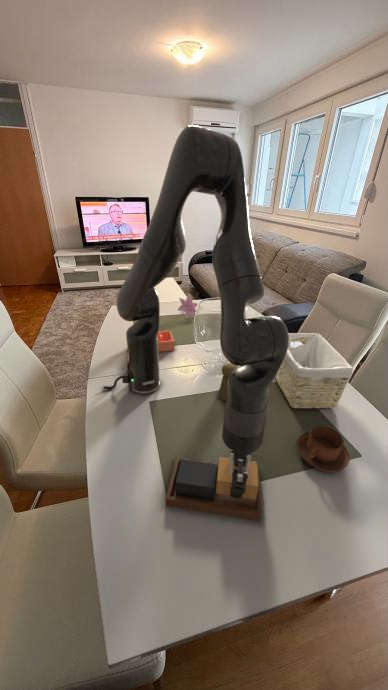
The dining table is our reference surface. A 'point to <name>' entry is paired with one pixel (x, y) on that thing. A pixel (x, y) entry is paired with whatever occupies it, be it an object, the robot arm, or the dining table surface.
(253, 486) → the orange tan block
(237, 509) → the brown wooden tray
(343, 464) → the cup and saucer
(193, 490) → the black rectangular block
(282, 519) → the dining table surface
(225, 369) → the pawn chess piece
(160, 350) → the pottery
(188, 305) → the lily
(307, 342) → the basket
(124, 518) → the dining table surface
